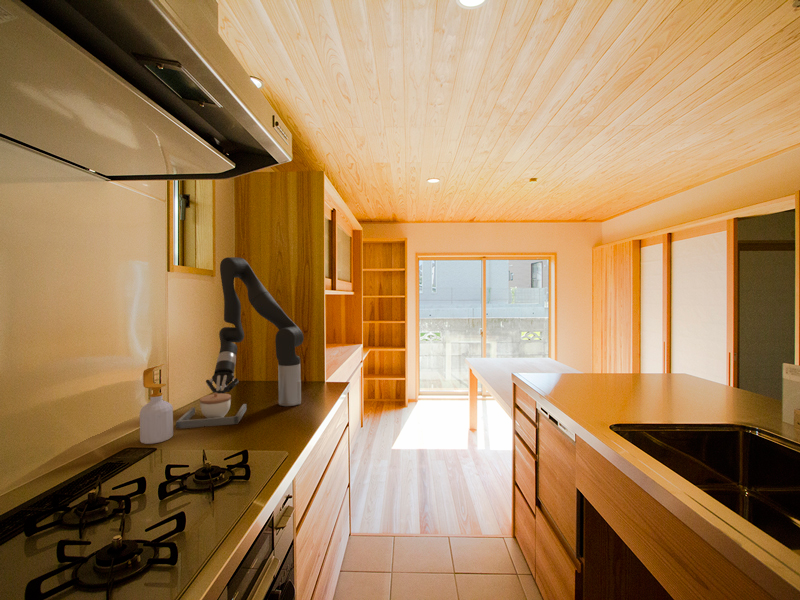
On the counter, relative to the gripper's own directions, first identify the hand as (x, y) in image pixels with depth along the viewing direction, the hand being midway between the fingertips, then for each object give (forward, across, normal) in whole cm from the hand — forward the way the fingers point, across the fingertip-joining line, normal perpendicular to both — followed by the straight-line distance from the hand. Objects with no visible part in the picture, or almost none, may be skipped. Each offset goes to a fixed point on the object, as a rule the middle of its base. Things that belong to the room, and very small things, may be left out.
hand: (218, 400), depth 146 cm
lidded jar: (+8, 0, -1) cm, 8 cm away
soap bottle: (+21, -13, -14) cm, 28 cm away
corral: (+8, 0, -2) cm, 9 cm away
